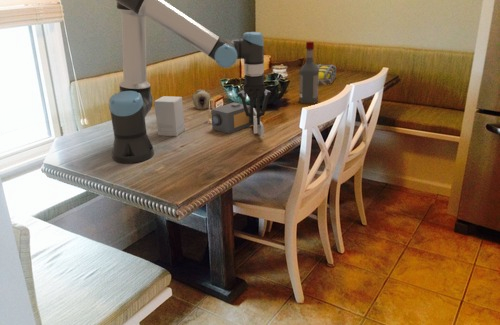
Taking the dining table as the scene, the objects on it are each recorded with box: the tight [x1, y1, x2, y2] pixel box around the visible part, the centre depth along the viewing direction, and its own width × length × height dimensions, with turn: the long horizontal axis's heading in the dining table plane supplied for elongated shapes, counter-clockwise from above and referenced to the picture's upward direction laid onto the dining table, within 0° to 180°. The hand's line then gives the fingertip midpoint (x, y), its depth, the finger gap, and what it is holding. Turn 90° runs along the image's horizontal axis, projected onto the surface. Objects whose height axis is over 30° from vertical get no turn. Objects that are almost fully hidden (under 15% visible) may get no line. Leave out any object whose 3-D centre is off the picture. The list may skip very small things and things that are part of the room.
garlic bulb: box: [192, 89, 212, 111], centre depth 225 cm, size 9×8×10 cm
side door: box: [253, 107, 265, 138], centre depth 187 cm, size 21×1×7 cm, turn 10°
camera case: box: [210, 101, 252, 134], centre depth 194 cm, size 15×10×10 cm
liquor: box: [298, 41, 319, 104], centre depth 226 cm, size 9×9×30 cm
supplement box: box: [153, 95, 186, 137], centre depth 189 cm, size 9×9×15 cm
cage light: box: [316, 63, 337, 86], centre depth 275 cm, size 15×8×30 cm
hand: (255, 132), depth 180 cm, fingers closed
